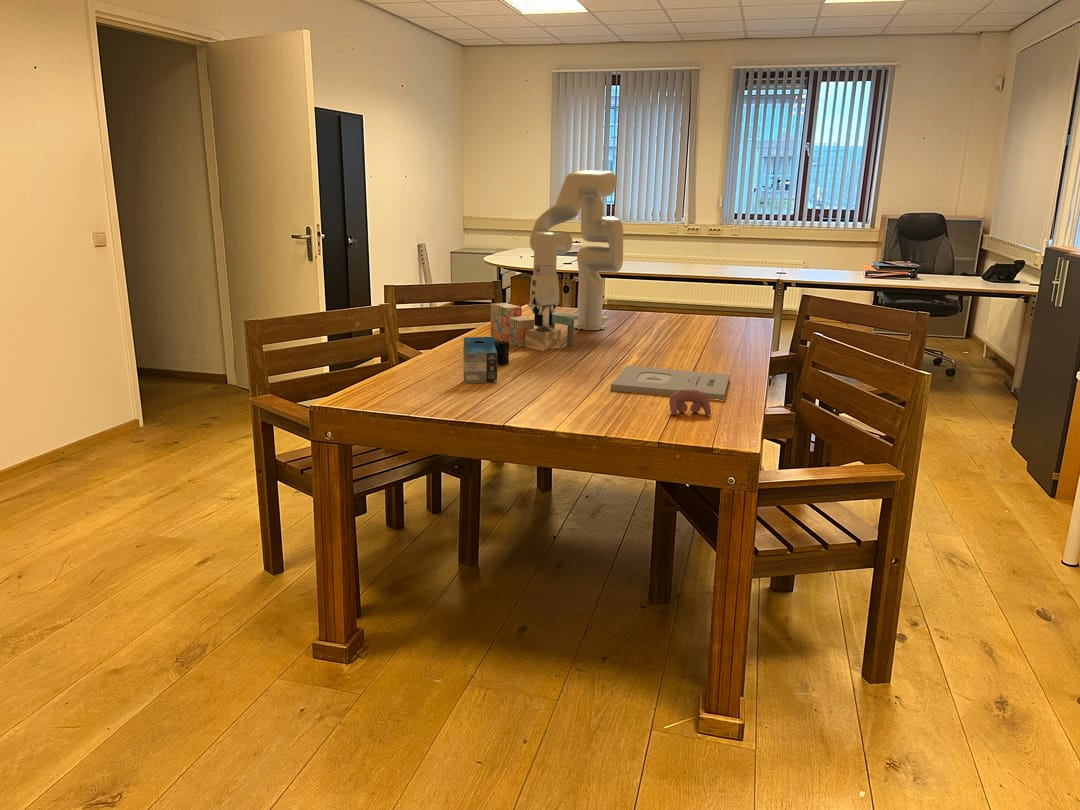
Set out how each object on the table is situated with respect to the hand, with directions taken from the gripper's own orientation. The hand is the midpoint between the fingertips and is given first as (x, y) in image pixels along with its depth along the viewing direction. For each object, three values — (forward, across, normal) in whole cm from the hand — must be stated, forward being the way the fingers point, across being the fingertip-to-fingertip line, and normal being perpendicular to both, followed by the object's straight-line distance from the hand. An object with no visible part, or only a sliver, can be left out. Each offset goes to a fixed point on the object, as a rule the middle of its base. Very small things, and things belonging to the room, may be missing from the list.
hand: (543, 324), depth 262 cm
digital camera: (+8, -30, -7) cm, 32 cm away
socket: (+8, 0, 0) cm, 8 cm away
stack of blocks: (+8, 0, +15) cm, 17 cm away
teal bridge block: (+8, +11, +2) cm, 13 cm away
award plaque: (+9, -10, -60) cm, 61 cm away
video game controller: (+8, -31, -80) cm, 86 cm away
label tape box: (+8, -48, -23) cm, 54 cm away
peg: (+3, 0, 0) cm, 3 cm away
